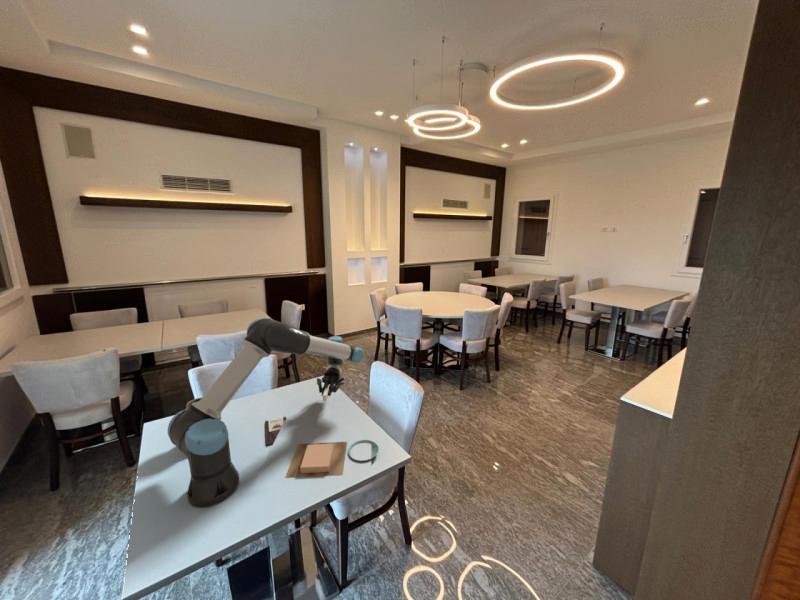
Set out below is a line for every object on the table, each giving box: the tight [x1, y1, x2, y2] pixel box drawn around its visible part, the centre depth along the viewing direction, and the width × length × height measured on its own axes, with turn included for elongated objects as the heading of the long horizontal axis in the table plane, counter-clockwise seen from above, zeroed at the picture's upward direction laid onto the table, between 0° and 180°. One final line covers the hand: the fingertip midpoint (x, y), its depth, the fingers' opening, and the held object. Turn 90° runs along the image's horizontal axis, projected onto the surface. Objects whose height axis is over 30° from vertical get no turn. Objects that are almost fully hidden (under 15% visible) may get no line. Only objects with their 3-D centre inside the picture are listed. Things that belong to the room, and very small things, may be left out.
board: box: [285, 441, 348, 479], centre depth 119 cm, size 20×18×1 cm
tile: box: [300, 444, 334, 473], centre depth 117 cm, size 10×3×12 cm
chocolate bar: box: [264, 416, 287, 447], centre depth 137 cm, size 9×1×18 cm
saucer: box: [347, 439, 380, 462], centre depth 123 cm, size 12×12×2 cm
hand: (324, 398), depth 130 cm, fingers closed
